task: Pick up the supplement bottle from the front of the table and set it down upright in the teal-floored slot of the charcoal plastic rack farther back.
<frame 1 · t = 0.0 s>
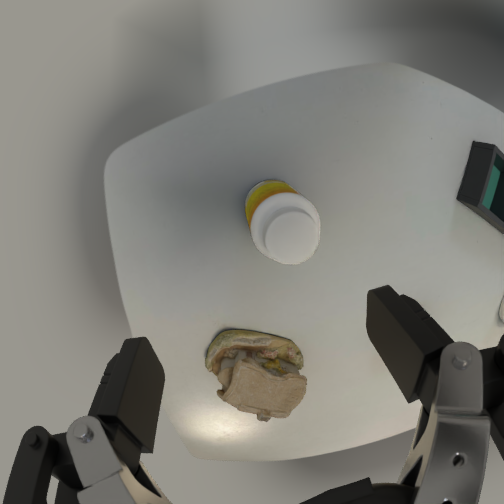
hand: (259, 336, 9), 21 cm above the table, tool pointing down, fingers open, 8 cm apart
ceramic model: (255, 360, 37), on the table
supplement bottle: (271, 204, 29), on the table
rack: (503, 202, 31), on the table
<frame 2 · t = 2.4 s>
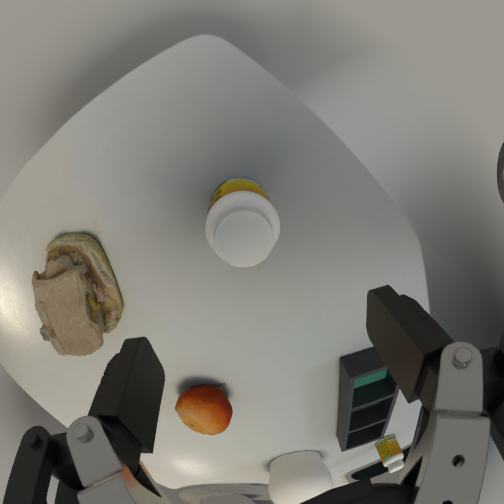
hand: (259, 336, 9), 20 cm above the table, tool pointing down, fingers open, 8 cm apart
vase: (295, 460, 51), on the table
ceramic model: (82, 285, 30), on the table
fruit: (205, 391, 38), on the table
supplement bottle: (239, 204, 28), on the table
rack: (362, 397, 42), on the table
supplement bottle 2: (384, 439, 52), on the table
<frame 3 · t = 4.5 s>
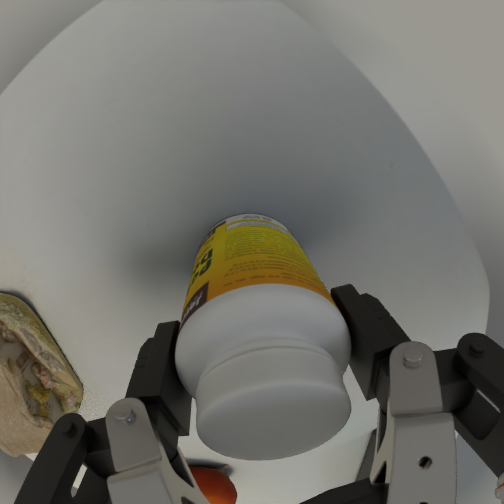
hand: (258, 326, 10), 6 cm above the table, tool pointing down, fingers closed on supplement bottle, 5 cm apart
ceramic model: (28, 356, 17), on the table
fruit: (202, 469, 26), on the table
supplement bottle: (247, 259, 15), on the table, touching gripper
rack: (388, 456, 30), on the table
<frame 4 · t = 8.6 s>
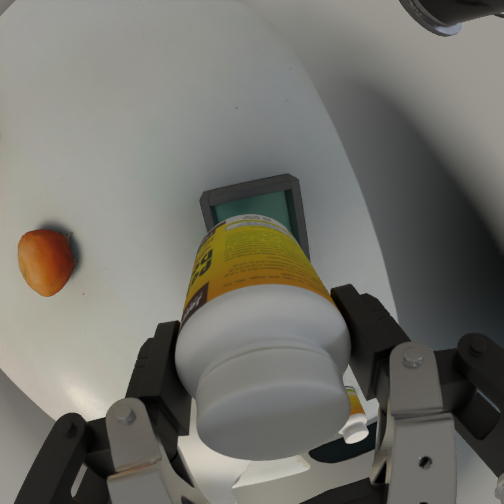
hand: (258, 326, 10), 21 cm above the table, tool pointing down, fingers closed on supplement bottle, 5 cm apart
vase: (209, 409, 42), on the table
fruit: (58, 250, 30), on the table
supplement bottle: (247, 259, 15), point 15 cm above the table, touching gripper
rack: (268, 288, 34), on the table
supplement bottle 2: (340, 394, 44), on the table
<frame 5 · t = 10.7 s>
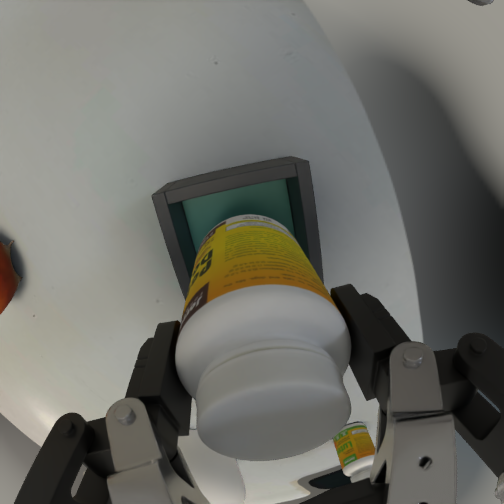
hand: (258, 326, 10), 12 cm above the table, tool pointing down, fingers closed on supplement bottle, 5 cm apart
vase: (193, 446, 33), on the table
fruit: (2, 261, 20), on the table
supplement bottle: (247, 260, 15), point 6 cm above the table, touching gripper
rack: (262, 317, 24), on the table
supplement bottle 2: (348, 430, 34), on the table
when the fingers open (6 cm above the table, at t = 12.6 s): supplement bottle stays where it is, resting on rack.
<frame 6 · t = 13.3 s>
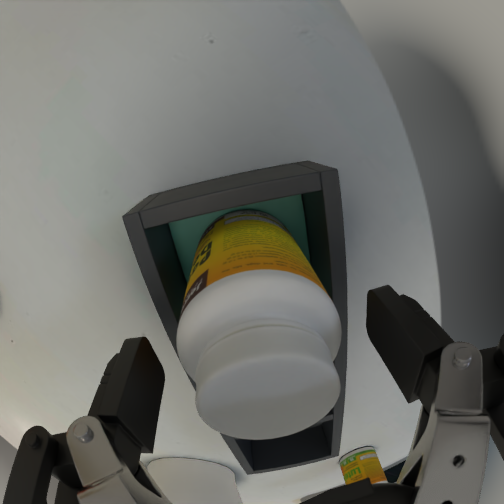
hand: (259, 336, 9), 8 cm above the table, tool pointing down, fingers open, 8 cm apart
vase: (190, 472, 28), on the table
supplement bottle: (245, 253, 16), resting on rack
rack: (267, 353, 20), on the table
supplement bottle 2: (356, 453, 30), on the table
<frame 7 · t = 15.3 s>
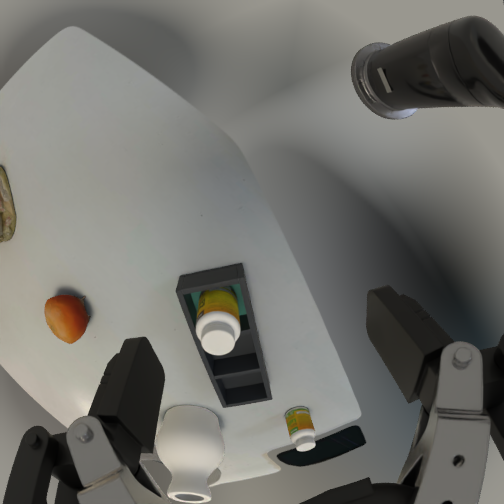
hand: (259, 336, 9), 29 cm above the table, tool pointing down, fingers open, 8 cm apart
vase: (191, 419, 53), on the table
fruit: (74, 306, 40), on the table
supplement bottle: (218, 297, 41), resting on rack
rack: (230, 338, 44), on the table
supplement bottle 2: (296, 412, 55), on the table
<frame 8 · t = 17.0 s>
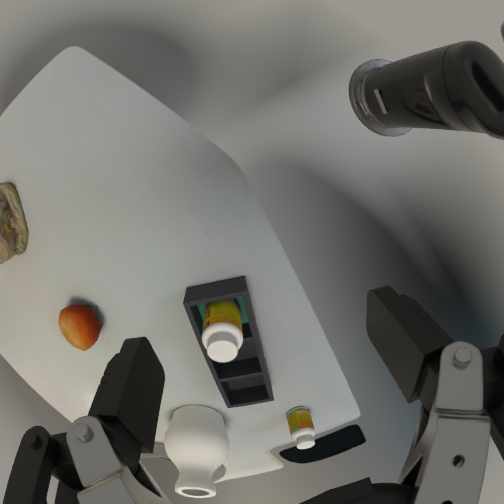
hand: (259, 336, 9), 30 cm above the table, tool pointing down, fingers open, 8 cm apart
vase: (198, 418, 56), on the table
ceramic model: (7, 221, 35), on the table
fruit: (86, 315, 43), on the table
supplement bottle: (222, 307, 44), resting on rack
rack: (234, 344, 47), on the table
supplement bottle 2: (297, 411, 58), on the table
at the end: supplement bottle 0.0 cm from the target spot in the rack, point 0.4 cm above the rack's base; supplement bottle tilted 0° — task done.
